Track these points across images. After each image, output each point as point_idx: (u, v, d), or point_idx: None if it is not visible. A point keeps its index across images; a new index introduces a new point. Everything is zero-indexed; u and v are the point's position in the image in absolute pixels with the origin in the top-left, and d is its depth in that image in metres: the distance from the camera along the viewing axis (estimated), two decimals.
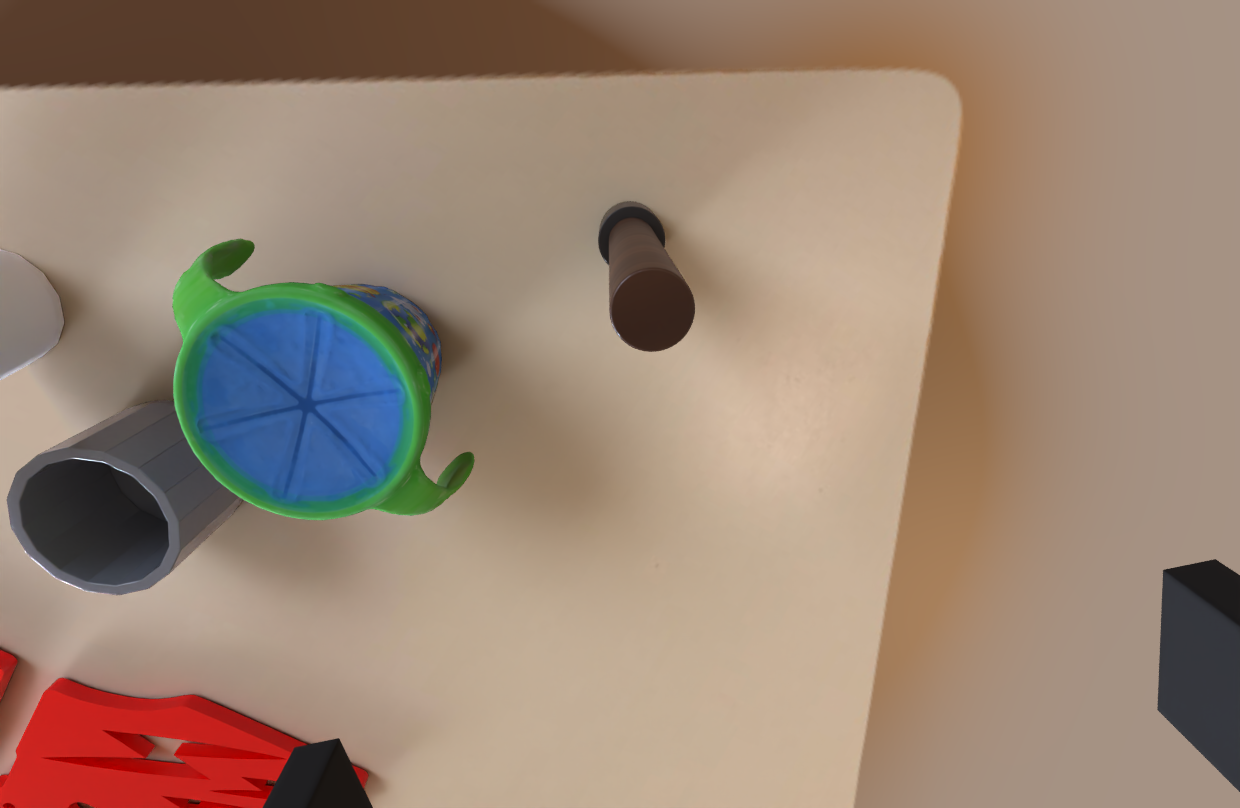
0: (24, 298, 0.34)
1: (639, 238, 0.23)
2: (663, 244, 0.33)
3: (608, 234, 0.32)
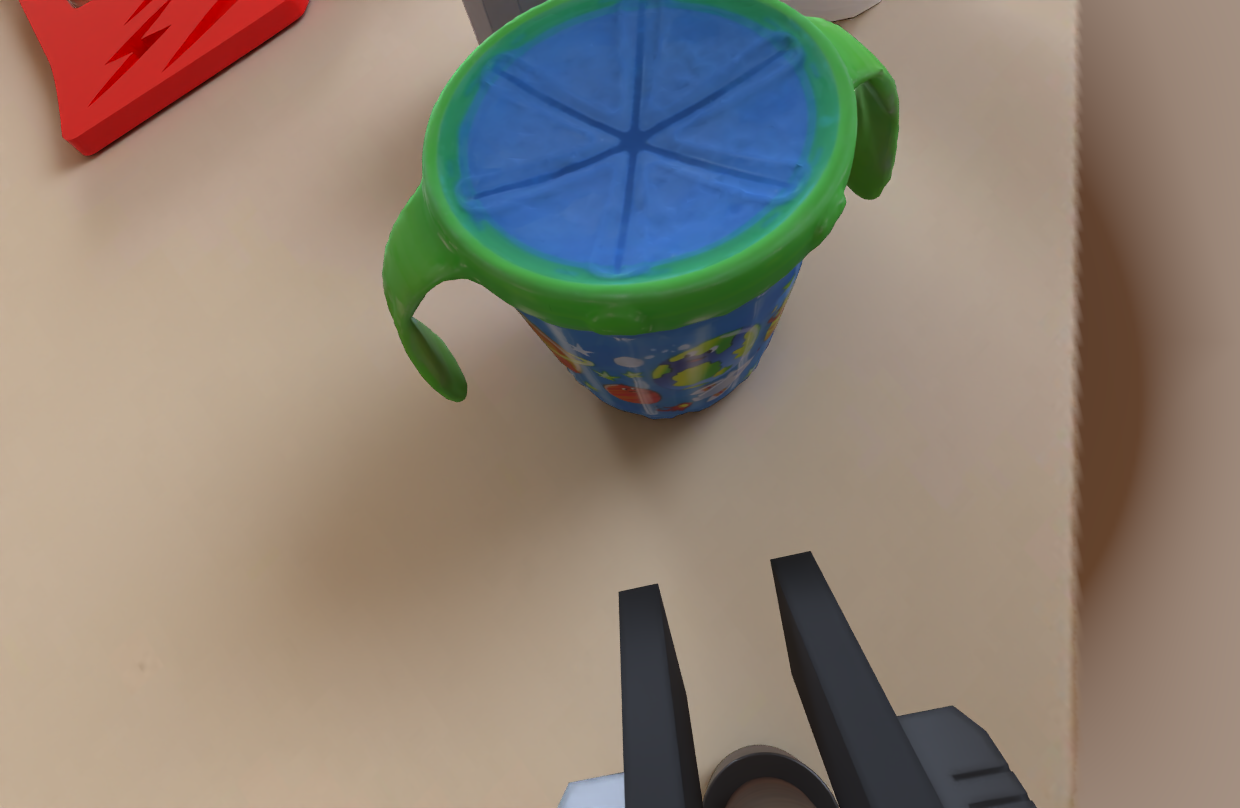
0: None
1: None
2: None
3: (794, 782, 0.15)
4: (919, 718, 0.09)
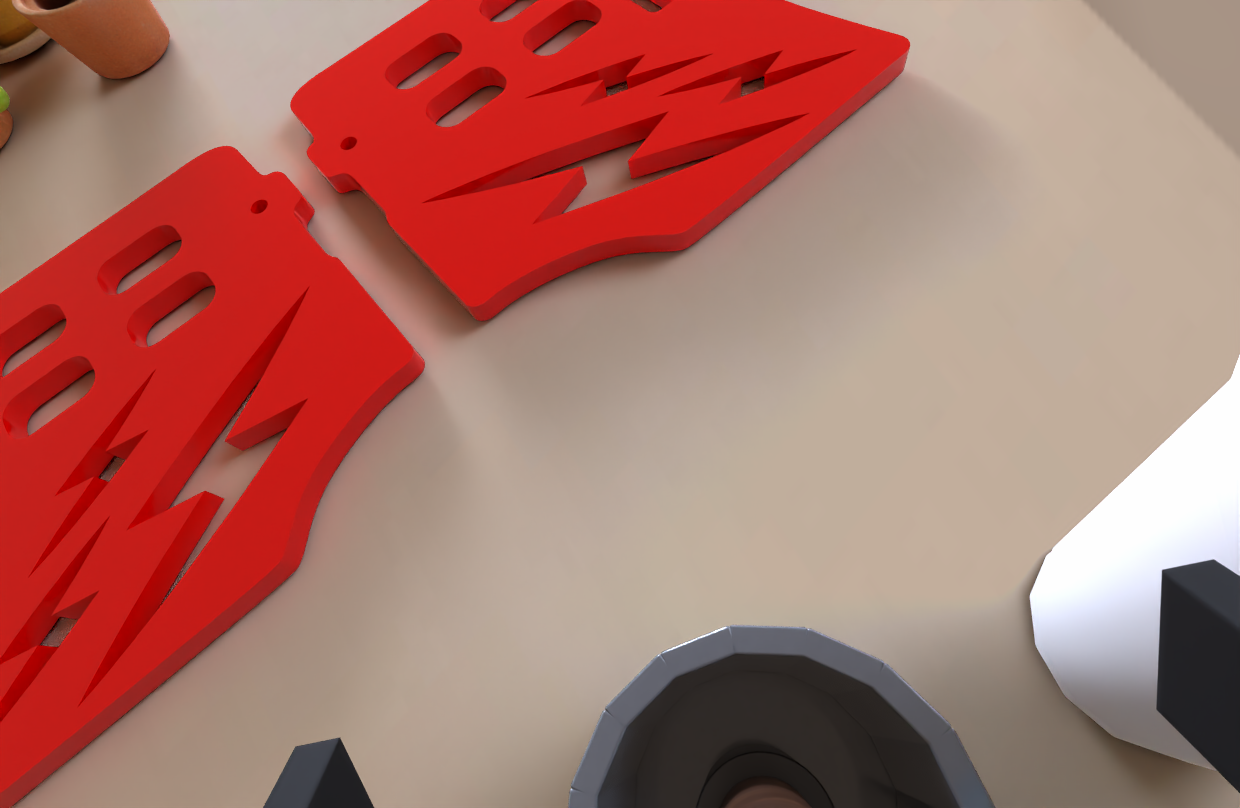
0: None
1: None
2: None
3: (789, 781, 0.15)
4: None
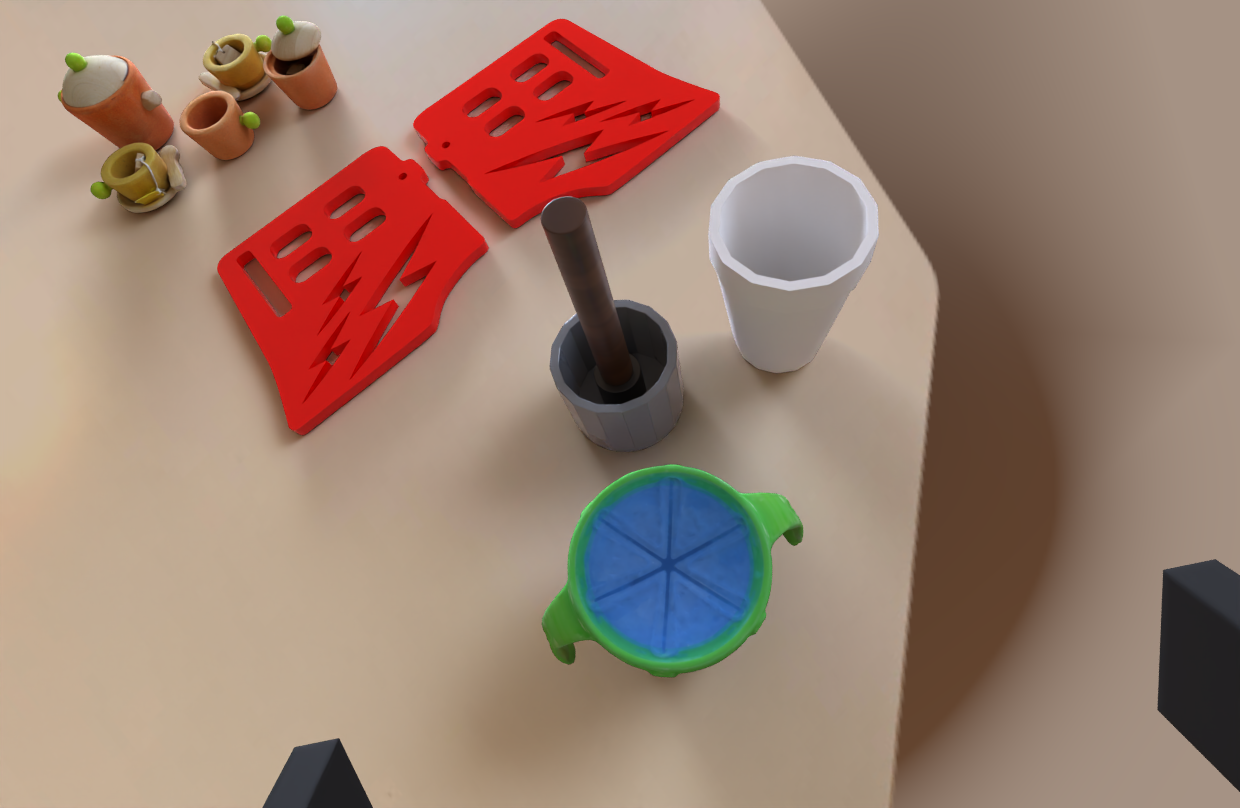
0: (783, 360, 0.47)
1: (610, 298, 0.37)
2: (608, 390, 0.45)
3: None
4: None
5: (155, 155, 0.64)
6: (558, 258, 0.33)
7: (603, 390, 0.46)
